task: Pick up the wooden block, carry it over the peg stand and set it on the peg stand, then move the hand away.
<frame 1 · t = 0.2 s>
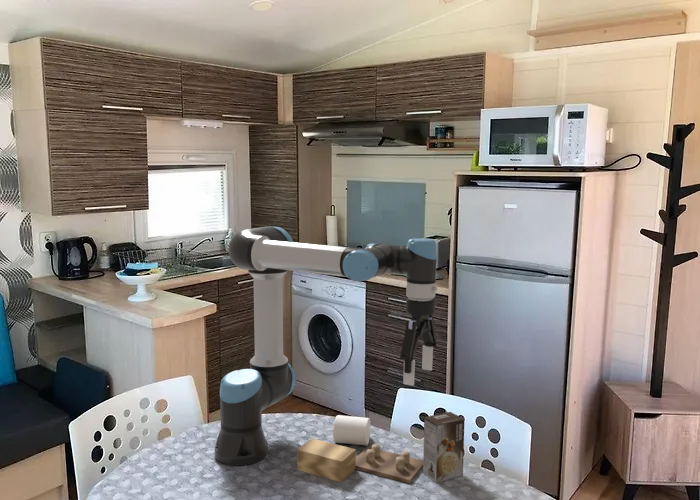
hand: (418, 376, 155), 27 cm above the table, fingers open, 13 cm apart
coffee box: (442, 475, 159), on the table
wooden block: (326, 470, 161), on the table
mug: (353, 440, 179), on the table
peg stand: (387, 465, 163), on the table
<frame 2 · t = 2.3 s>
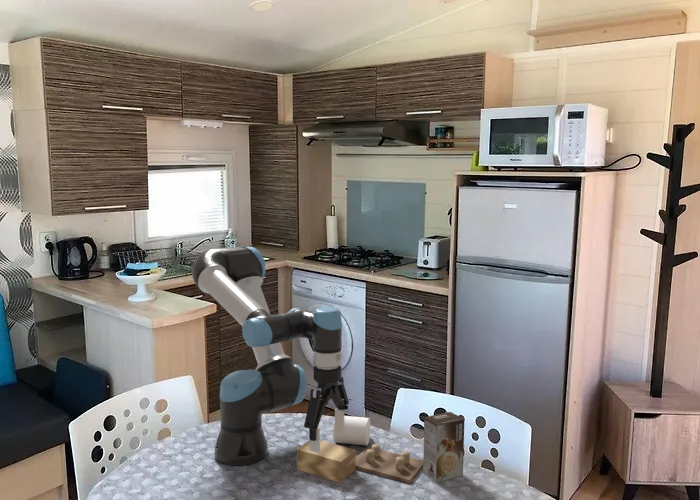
hand: (327, 441, 159), 8 cm above the table, fingers open, 13 cm apart
nothing on the table moved.
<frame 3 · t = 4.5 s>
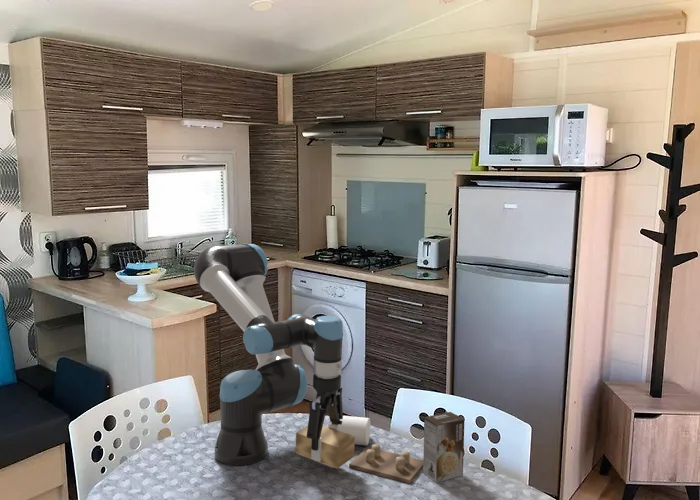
hand: (324, 452, 161), 4 cm above the table, fingers closed on wooden block, 8 cm apart
wooden block: (324, 454, 161), point 4 cm above the table, touching gripper
everything else where it was.
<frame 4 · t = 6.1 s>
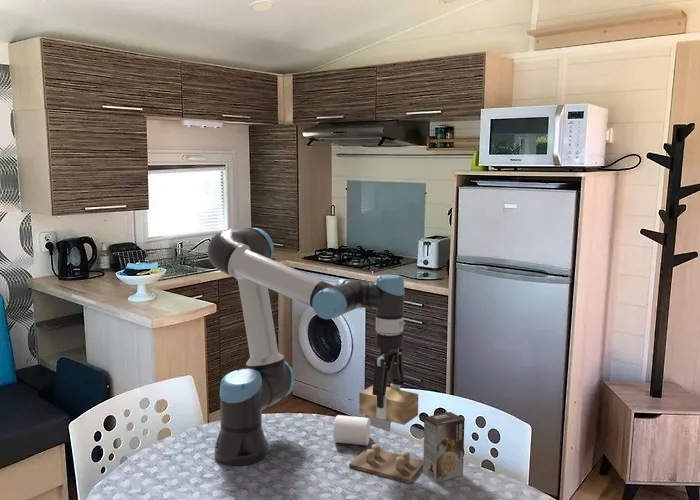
hand: (388, 412, 161), 16 cm above the table, fingers closed on wooden block, 8 cm apart
wooden block: (388, 414, 161), point 15 cm above the table, touching gripper
everything else where it was.
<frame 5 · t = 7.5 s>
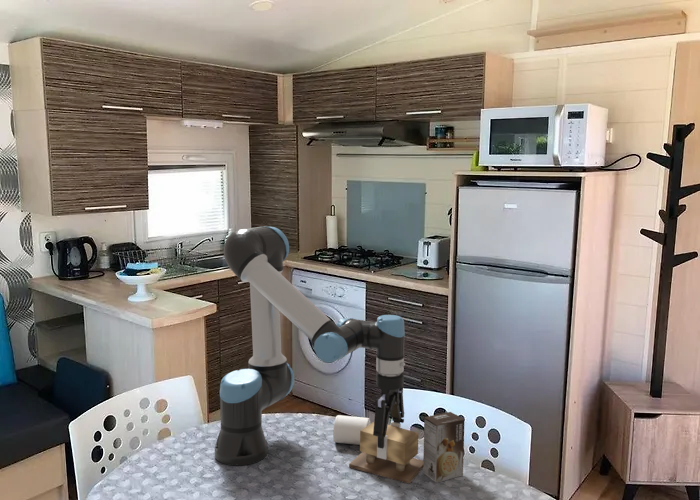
hand: (388, 451, 162), 4 cm above the table, fingers closed on wooden block, 8 cm apart
wooden block: (388, 452, 162), point 4 cm above the table, touching gripper, peg stand
everything else where it was.
when the fingers open (4 cm above the table, at t = 8.0 s): wooden block stays where it is, resting on peg stand.
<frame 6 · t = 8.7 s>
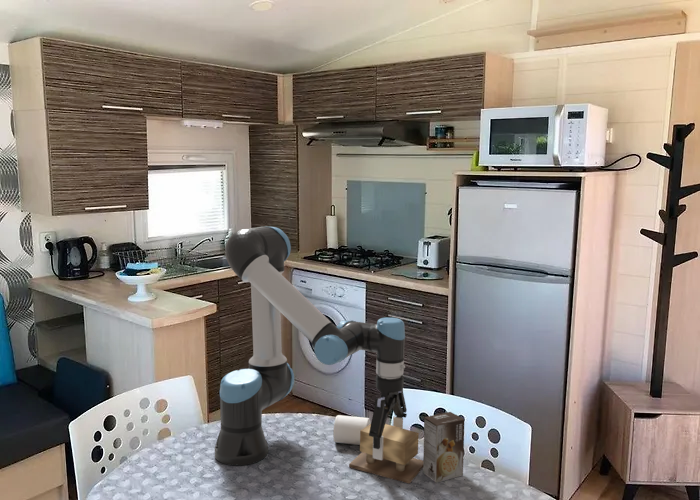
hand: (388, 448, 162), 5 cm above the table, fingers open, 13 cm apart
wooden block: (388, 452, 162), point 4 cm above the table, touching peg stand
everything else where it was.
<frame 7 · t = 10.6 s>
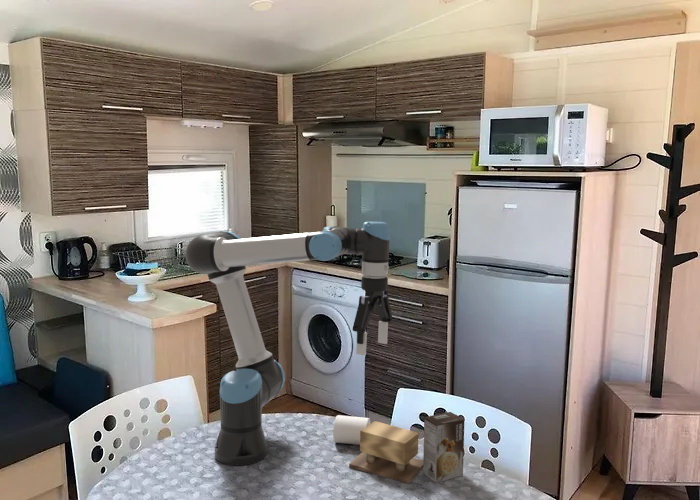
hand: (372, 348, 169), 31 cm above the table, fingers open, 13 cm apart
nothing on the table moved.
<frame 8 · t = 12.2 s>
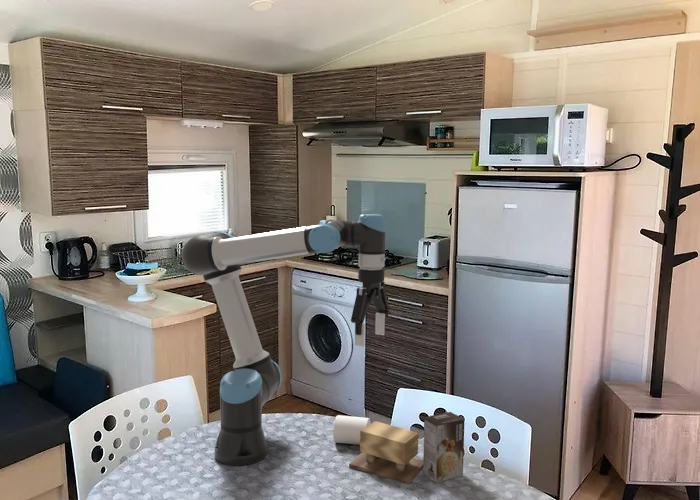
hand: (370, 339, 171), 33 cm above the table, fingers open, 13 cm apart
nothing on the table moved.
at the end: wooden block 0.2 cm off-centre on the peg stand, point 4.0 cm above the peg stand's base; wooden block tilted 0°; the gripper is holding nothing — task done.
